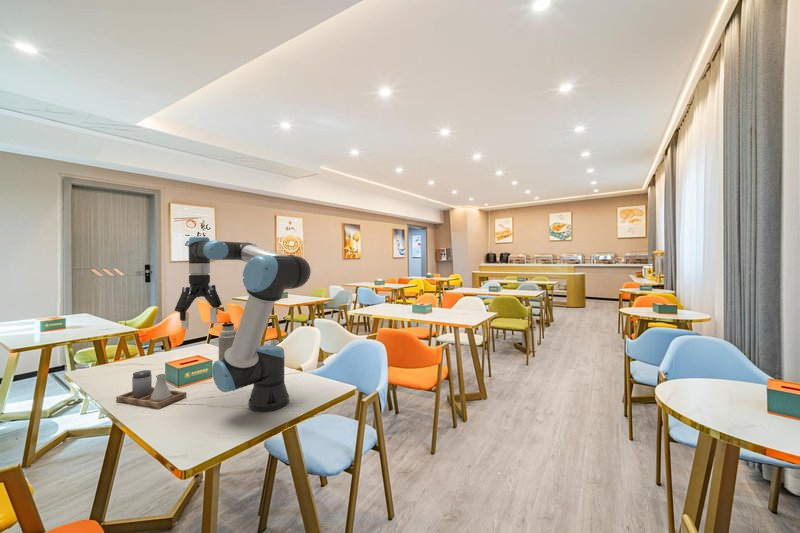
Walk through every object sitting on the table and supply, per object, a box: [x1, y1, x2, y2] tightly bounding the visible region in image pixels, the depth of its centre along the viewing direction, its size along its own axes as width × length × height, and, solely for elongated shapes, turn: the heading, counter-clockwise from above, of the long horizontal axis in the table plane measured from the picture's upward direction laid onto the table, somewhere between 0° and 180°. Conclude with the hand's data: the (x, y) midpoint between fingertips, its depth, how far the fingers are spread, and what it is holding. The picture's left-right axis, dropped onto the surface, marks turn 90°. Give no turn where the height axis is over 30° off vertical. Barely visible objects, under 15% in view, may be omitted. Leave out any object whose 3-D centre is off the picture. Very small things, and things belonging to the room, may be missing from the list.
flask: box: [150, 373, 172, 402], centre depth 137 cm, size 7×7×10 cm
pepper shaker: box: [131, 369, 153, 399], centre depth 140 cm, size 6×6×10 cm
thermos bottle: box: [218, 322, 237, 360], centre depth 158 cm, size 8×8×28 cm
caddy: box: [115, 386, 187, 410], centre depth 139 cm, size 23×12×2 cm, turn 73°
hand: (199, 325), depth 138 cm, fingers open, 13 cm apart
